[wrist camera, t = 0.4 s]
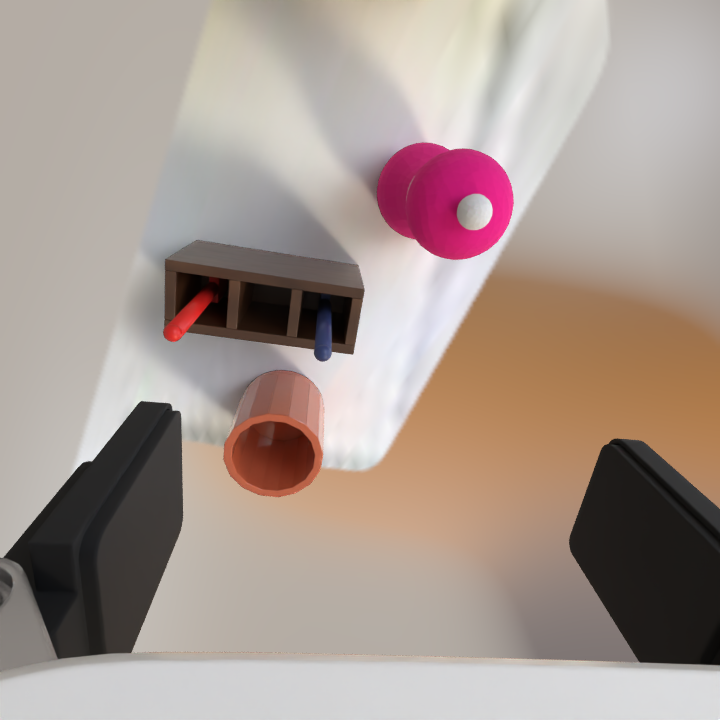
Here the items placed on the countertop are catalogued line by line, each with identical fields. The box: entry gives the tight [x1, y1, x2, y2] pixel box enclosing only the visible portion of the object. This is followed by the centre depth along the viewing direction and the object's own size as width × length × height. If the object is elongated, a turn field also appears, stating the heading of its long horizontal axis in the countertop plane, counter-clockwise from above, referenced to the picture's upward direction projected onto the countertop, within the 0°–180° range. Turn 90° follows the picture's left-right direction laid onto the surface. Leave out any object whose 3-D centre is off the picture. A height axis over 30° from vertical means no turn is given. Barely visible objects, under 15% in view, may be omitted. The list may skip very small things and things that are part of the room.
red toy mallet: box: [163, 277, 228, 342], centre depth 36 cm, size 3×1×16 cm, turn 171°
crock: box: [224, 370, 324, 497], centre depth 45 cm, size 8×8×9 cm
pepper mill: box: [377, 143, 514, 260], centre depth 33 cm, size 7×7×20 cm
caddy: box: [164, 240, 364, 354], centre depth 40 cm, size 5×15×9 cm, turn 81°
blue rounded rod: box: [314, 293, 332, 361], centre depth 37 cm, size 3×1×16 cm, turn 170°
